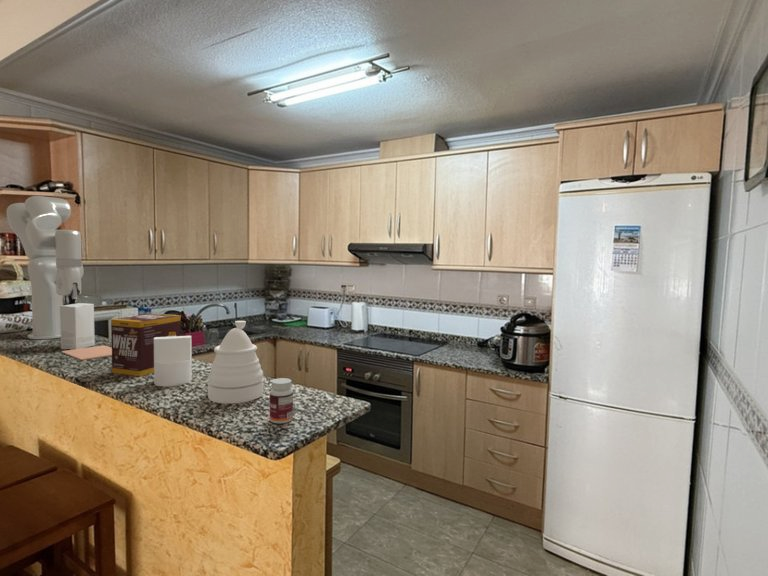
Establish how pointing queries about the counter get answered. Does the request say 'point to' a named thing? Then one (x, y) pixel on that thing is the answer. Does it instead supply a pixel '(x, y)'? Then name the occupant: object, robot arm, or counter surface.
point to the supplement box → (139, 341)
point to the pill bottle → (281, 401)
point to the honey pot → (235, 369)
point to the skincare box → (77, 326)
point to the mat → (90, 352)
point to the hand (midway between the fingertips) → (70, 314)
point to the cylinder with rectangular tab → (172, 360)
